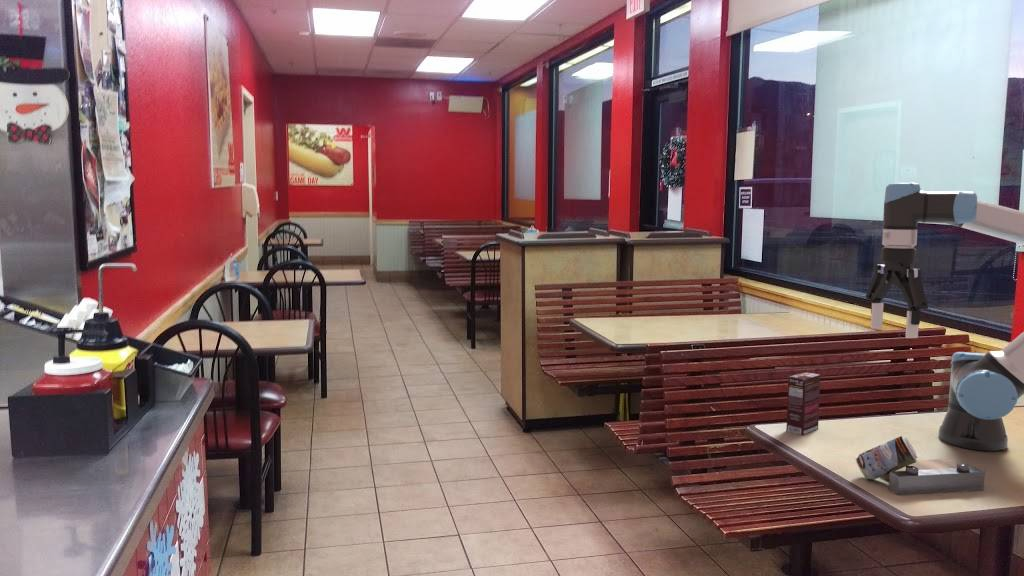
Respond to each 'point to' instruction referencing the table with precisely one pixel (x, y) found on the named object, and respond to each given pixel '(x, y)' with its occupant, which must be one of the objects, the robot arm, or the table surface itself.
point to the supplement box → (803, 403)
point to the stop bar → (936, 480)
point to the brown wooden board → (928, 465)
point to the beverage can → (886, 458)
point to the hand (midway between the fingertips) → (893, 333)
